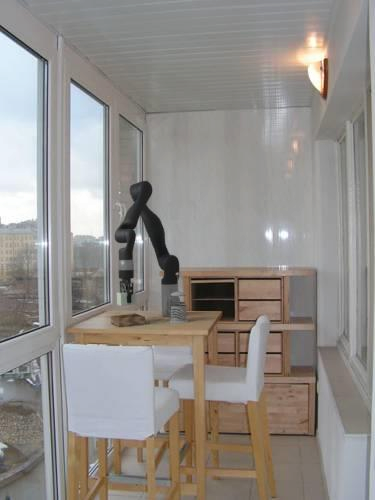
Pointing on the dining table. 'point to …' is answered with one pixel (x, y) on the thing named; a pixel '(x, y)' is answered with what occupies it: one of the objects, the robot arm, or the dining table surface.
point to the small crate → (125, 299)
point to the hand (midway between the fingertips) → (126, 302)
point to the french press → (178, 317)
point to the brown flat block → (127, 320)
